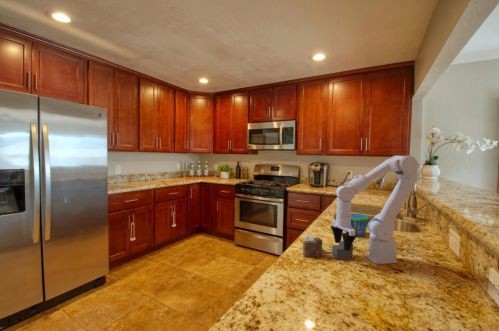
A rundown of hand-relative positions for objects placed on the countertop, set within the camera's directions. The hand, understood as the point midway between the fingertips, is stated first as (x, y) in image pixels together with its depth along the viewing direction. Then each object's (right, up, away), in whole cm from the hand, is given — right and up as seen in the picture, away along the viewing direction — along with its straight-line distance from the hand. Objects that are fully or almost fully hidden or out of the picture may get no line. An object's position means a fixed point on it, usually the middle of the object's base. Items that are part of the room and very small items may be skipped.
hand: (342, 246), depth 94 cm
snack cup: (+19, -3, +27) cm, 33 cm away
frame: (-6, -4, +2) cm, 8 cm away
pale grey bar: (-10, -4, +10) cm, 15 cm away
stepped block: (0, -5, 0) cm, 5 cm away
